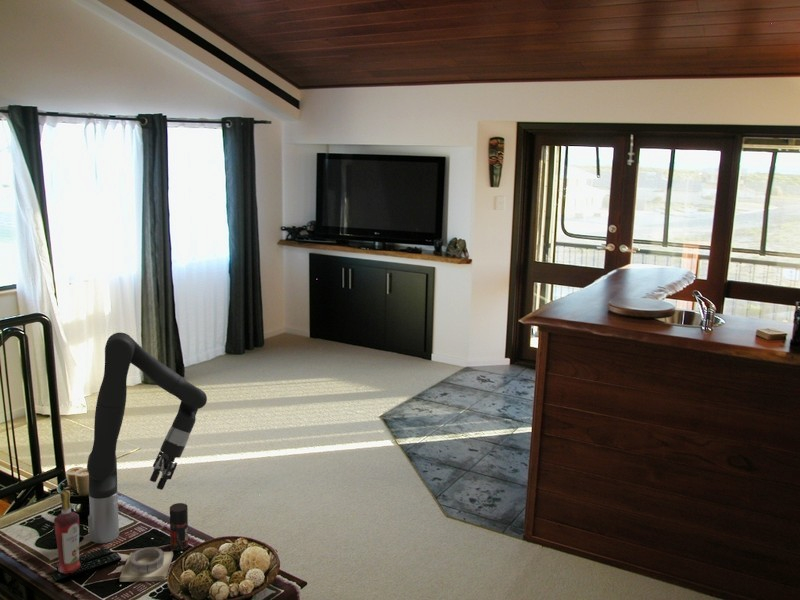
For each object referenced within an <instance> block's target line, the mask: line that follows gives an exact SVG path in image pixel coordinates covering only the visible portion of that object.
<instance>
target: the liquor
mask: <svg viewBox="0 0 800 600" xmlns="http://www.w3.org/2000/svg"><path fill="white" fill-rule="evenodd" d="M70 491H71V490H66V489H65V490H63V491H61V492H60V500H61V513H60V514H58V515H57V516H55V517H54V520H53V523H54V533H55V538H56V540H55V541H56V547H57V556H58V567H57V571H58V572H59V573H62V574H63V573H65V574H64V575H69V574H68V573H72V574H74V573H76V572H77V571H78V570H79V569H80V568H81V566H82V563H81V562H80V515H79V514H78V513H76V512H74V511H72V508H71V502H70V498H71V492H70ZM76 570H77V571H76ZM73 572H74V573H73ZM66 573H67V574H66Z"/></svg>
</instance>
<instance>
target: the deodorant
mask: <svg viewBox="0 0 800 600" xmlns="http://www.w3.org/2000/svg"><path fill="white" fill-rule="evenodd" d="M188 510H189V508H188V505H187V504H186V503H183V502H177V503H174V504H172V505H170V507H169V535H170V537H169V538H170V539H169V540H170V541H169V543H170V544H169V545H170V549H171V550H172V551H176V552H177V551H178V552H179V551H183V549H184V548H186V547H187V546H188V547H189V526H188V525H189V518H188V517H189V516H188V515H189V514H188ZM188 547H187V548H188ZM187 548H186V549H187ZM184 550H185V549H184Z"/></svg>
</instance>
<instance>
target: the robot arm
mask: <svg viewBox="0 0 800 600" xmlns="http://www.w3.org/2000/svg"><path fill="white" fill-rule="evenodd" d="M131 364H132V365H133V366H135V367H136V368H138V369H139V370H140V371H141V372H142V373H143V374H145V376H146V377H147V378H149V379H150V380H151V381H152V382H153V383H154V384H156V385H157V386H158V387H160V388H161V389H163V390H164V391H165V392H167V393H169V394H171V395H172V396H174V397H175V398H176V399H178V400H180V404H179V407H178V411H177V414H176V415H175V417H174V419H173V422H172V424H171V426H170V428H169V429H168V431H167V433H166V435H165V438H164V440H163V442H162V444H161V447H160V449H159V450H160V451H159V452H158V454H157V456H156V458H155V460H154V463H153V465H152V467H153V472H152V473H151V476H150V478H149V481H150V482H153V483H156V482H157V480H158V477H159V476H160V478H159V481H158V483H157V485H156V489H158V490H164V489H165V485H166V482H168V481H167V480H172V479H173V475H174V473H175V470H176V468H177V466H178V462H175V459H176V458H181V456H182V454H183V452H184V450H185V448H186V446H187V444H188V441H189V439H190V435H191V433H192V430H193V428H194V427H195V423H196V420H197V418H196V416H197V413H198V411H199V410H200V409H202V408H203V407H205V405H207V401H208V397H207V394H206V393H205V391H203V390H202V389H201V388H199V387H197V386H195V385H194V384H193V383H191V382H189V381H187V380H186V379H185V378H184V377H183V376H181V375H180V374H178V373H177V372H176V371H174V370H173V369H172V368H170V367H168V366H167V365H165V364H164V363H162V362H161V361H159V360H158V359H156V357H154V356H152V355H151V354H150V353H149V352H147V351H146V350H145V349H144V348H143V347H142V346H140V344H138V342H137V341H135V339H134V338H132V336H130V335H129V334H128V333H124V332H115V333H113V334H111V335H110V336H109V337H108V338H107V341H106V343H105V347H104V371H103V377H102V381H101V384H100V387H99V390H98V395H97V397H96V398H97V399H96V405H95V412H94V425H93V427H94V429H93V430H94V431H93V444H92V447H91V452H90V453H89V455H88V457H87V464H86V471H87V473H88V499H89V503H88V504H89V515H88V516H87V520H88V523H87V524H88V541H89V542H93V543H95V544H107V543H110V542H111V543H112V542H113V541H115V540H116V539H118V537H119V536H120V526H119V525H120V524H119V523H120V522H119V521H120V519H119V500H118V499H119V497H118V495H119V494H118V462H117V455H116V453H117V443H118V439H119V435H120V432H121V429H122V428H121V427H122V426H123V425H122V424H123V420H124V415H125V412H126V411H125V410H126V405H127V404H126V403H127V393H128V392H127V385H128V384H127V381H128V380H127V379H128V373H129V369H130V366H131ZM160 474H161V475H160Z"/></svg>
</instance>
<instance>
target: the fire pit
mask: <svg viewBox="0 0 800 600" xmlns="http://www.w3.org/2000/svg"><path fill="white" fill-rule="evenodd" d="M173 557H174V551H163V550H162V549H161V548H158V547H157V546H146V547H143V548H140V549H139V548H138V549H136V550H135V551H134V552H129V556H128V558H127V560H126V561H125V565H124V567H123V569H122V571H121V573H120V575H119V582H121V583H122V582H123V583H125V582H152V581H153V582H162V581H165V580H166V578H167V575H168V572H169V569H170V566H171V562H172V560H173Z"/></svg>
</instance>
